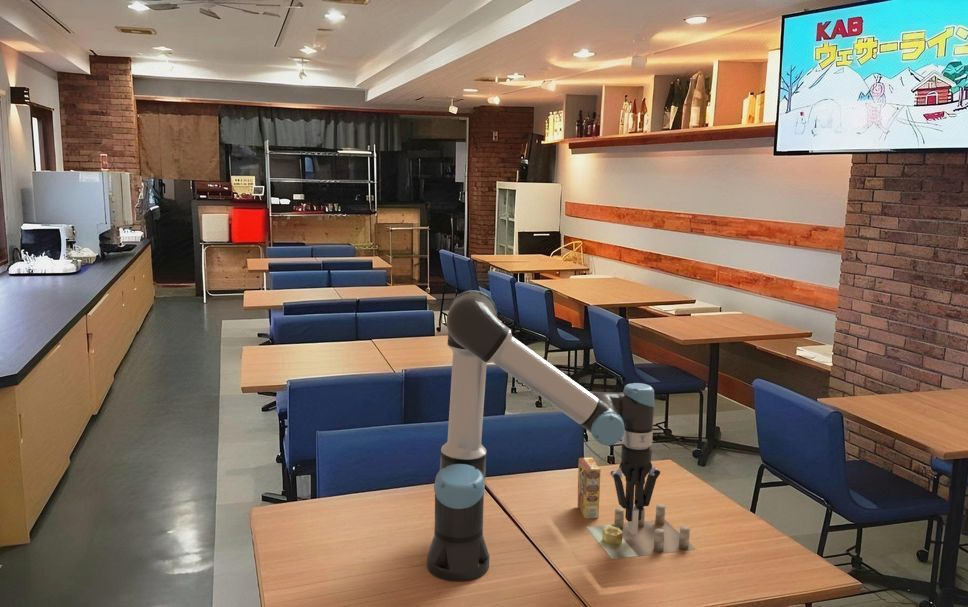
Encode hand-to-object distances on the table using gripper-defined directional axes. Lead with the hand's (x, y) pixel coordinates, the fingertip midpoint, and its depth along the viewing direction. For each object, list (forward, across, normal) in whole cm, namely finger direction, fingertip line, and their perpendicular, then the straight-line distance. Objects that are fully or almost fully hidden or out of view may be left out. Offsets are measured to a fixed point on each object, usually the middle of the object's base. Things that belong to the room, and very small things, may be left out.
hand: (632, 531), depth 190 cm
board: (+3, +2, 0) cm, 4 cm away
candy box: (+3, -5, +18) cm, 19 cm away
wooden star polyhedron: (+2, -6, 0) cm, 6 cm away
